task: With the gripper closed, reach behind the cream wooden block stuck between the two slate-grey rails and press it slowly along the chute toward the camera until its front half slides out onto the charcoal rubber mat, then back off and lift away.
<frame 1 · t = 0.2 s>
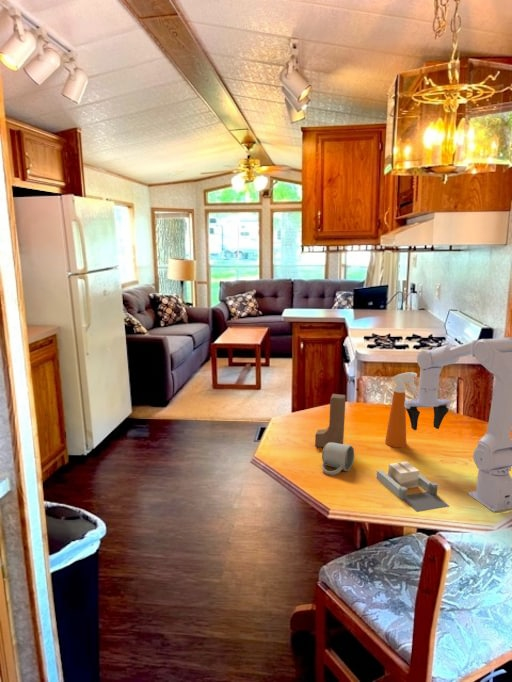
hand: (425, 428, 153), 10 cm above the table, fingers open, 7 cm apart
mat: (423, 501, 128), on the table
block: (403, 475, 137), point 3 cm above the table, slide at 0.0 cm
ceramic mug: (336, 469, 147), on the table
spray bottle: (400, 445, 165), on the table
chute: (405, 486, 136), on the table
wooden block: (329, 446, 163), on the table
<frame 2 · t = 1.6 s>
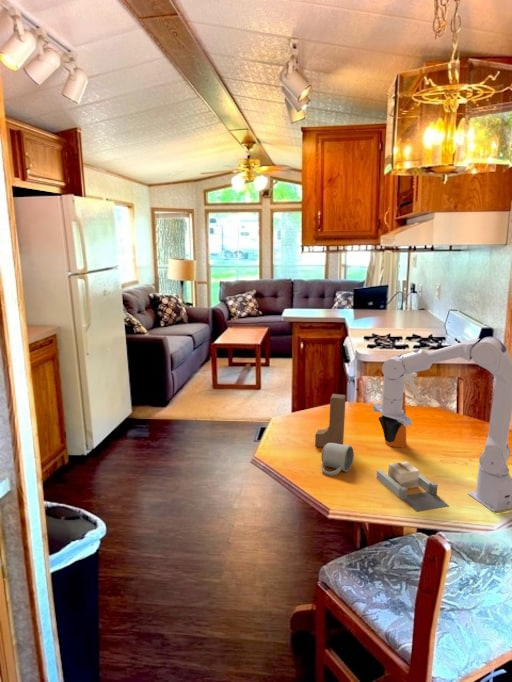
hand: (389, 440, 143), 10 cm above the table, fingers closed
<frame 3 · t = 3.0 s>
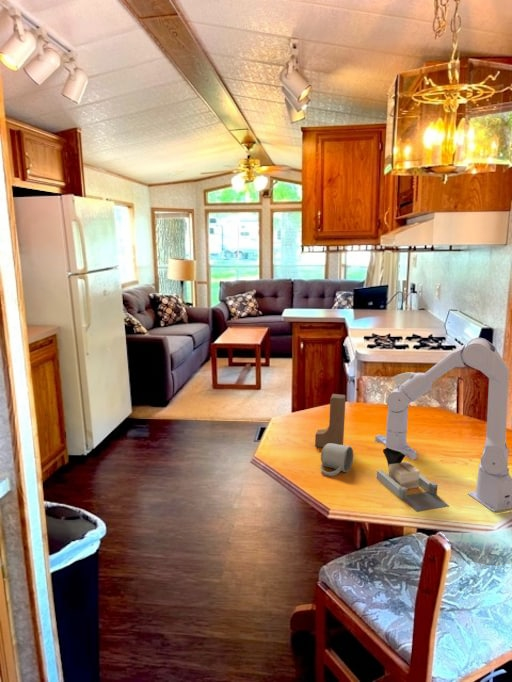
hand: (393, 472, 142), 1 cm above the table, fingers closed
block: (403, 475, 137), point 3 cm above the table, slide at 0.2 cm, touching gripper
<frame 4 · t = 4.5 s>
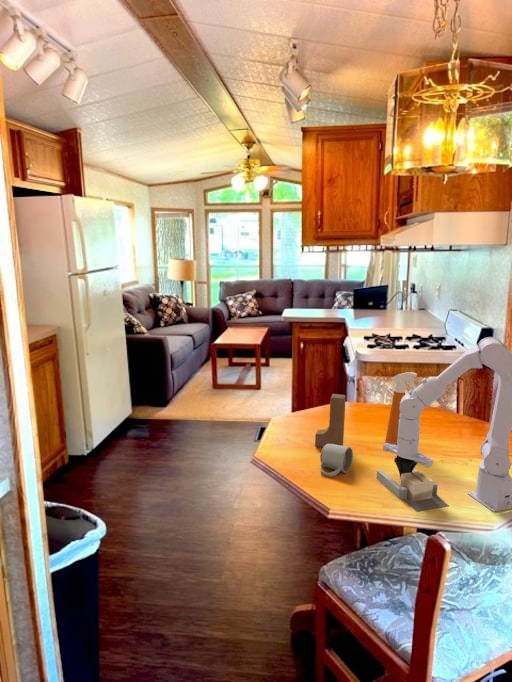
hand: (404, 481, 137), 1 cm above the table, fingers closed
block: (416, 485, 131), point 3 cm above the table, slide at 6.3 cm, touching gripper
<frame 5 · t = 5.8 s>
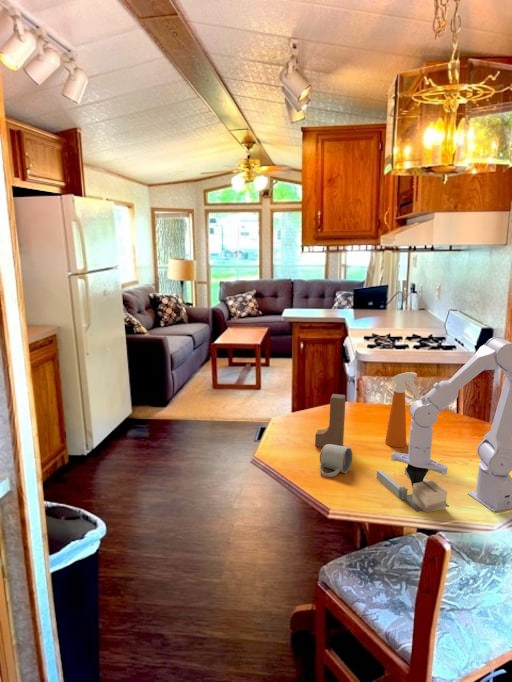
hand: (416, 491, 131), 1 cm above the table, fingers closed
block: (429, 495, 126), point 3 cm above the table, slide at 11.9 cm, touching gripper
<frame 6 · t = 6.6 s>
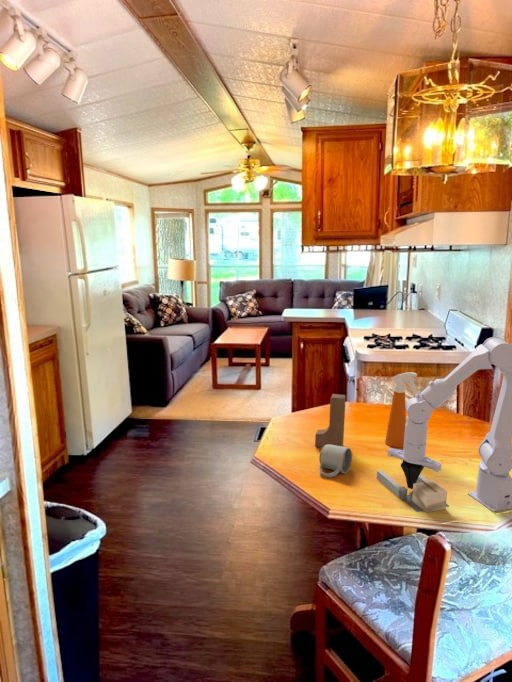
hand: (411, 487, 134), 1 cm above the table, fingers closed
block: (429, 495, 126), point 3 cm above the table, slide at 12.0 cm
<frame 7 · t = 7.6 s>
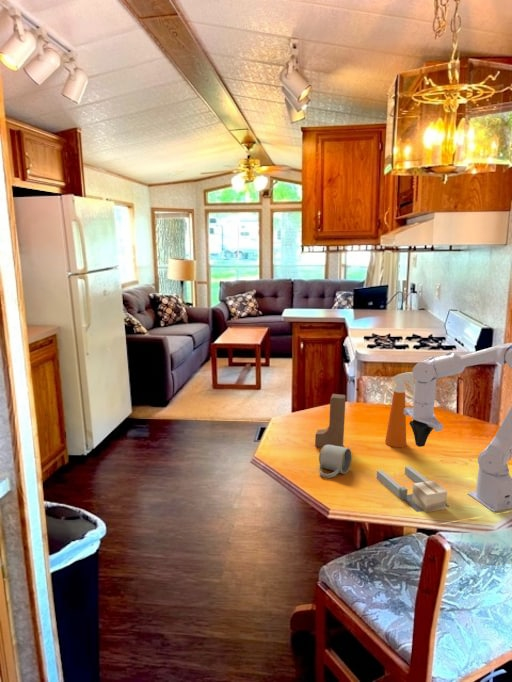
hand: (420, 445, 140), 10 cm above the table, fingers closed
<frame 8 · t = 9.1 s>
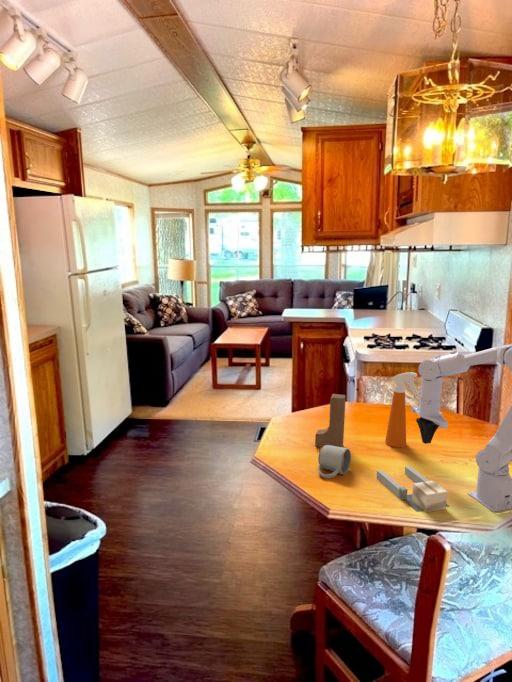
hand: (426, 442, 142), 10 cm above the table, fingers closed
at the end: block slide at 12.0 cm; block 3.8 cm from the target spot, resting on mat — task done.
